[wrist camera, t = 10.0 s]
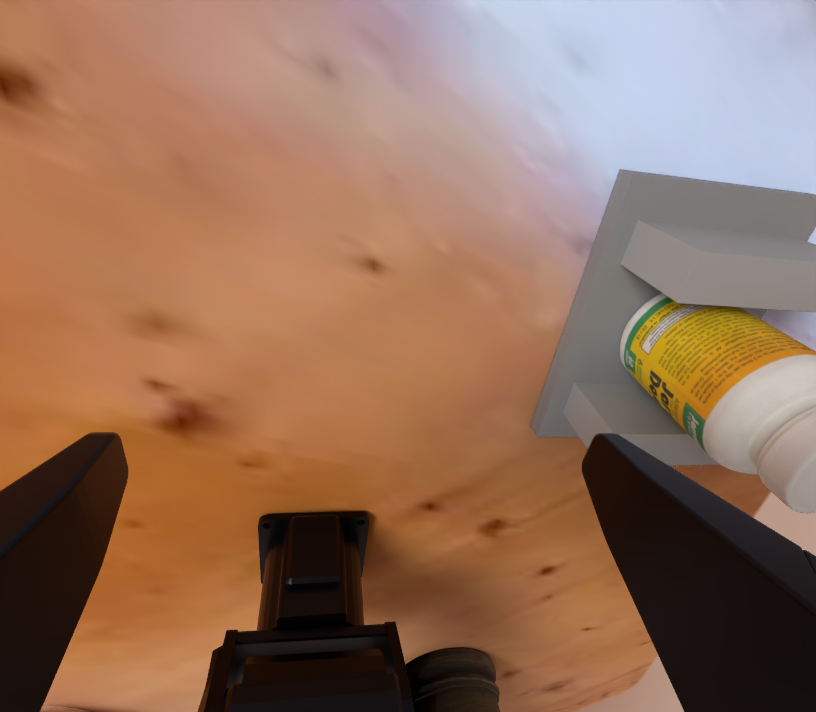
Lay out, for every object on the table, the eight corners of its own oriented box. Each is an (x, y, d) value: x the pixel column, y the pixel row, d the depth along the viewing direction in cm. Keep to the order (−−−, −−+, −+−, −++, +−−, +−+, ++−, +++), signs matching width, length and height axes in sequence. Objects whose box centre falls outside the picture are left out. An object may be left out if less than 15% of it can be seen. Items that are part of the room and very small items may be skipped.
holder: (679, 426, 28) (740, 488, 24) (530, 425, 26) (568, 492, 22) (812, 194, 21) (931, 225, 17) (619, 169, 19) (700, 198, 15)
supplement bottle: (736, 323, 23) (949, 457, 15) (649, 392, 25) (800, 545, 17) (686, 259, 21) (909, 380, 13) (594, 341, 23) (740, 492, 15)
